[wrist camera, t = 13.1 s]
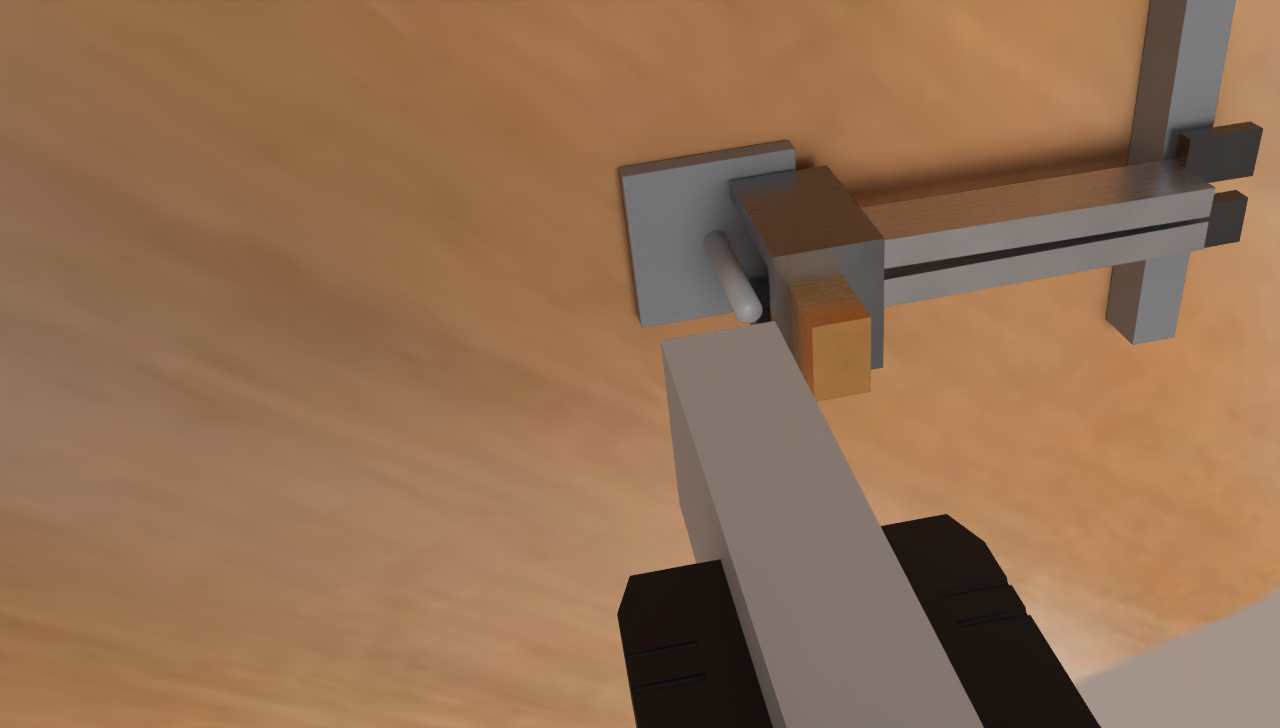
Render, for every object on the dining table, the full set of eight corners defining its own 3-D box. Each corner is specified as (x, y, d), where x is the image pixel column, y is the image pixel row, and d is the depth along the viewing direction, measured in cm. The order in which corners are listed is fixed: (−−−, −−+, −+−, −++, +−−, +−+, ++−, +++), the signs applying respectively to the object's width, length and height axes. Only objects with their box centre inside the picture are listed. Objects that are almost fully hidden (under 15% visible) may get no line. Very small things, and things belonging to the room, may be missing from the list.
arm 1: (789, 310, 45) (810, 347, 43) (786, 258, 44) (807, 293, 41) (1225, 231, 46) (1269, 262, 44) (1234, 179, 45) (1281, 208, 43)
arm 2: (786, 246, 44) (807, 281, 41) (785, 191, 42) (806, 223, 40) (1235, 175, 45) (1282, 204, 42) (1247, 119, 44) (1296, 146, 41)
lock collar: (737, 298, 46) (801, 432, 38) (729, 181, 44) (796, 298, 35) (829, 282, 47) (911, 412, 38) (826, 165, 44) (915, 277, 36)
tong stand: (649, 400, 50) (676, 495, 44) (604, 57, 41) (630, 118, 36) (1146, 311, 52) (1235, 392, 46) (1203, -37, 43) (1322, 8, 37)
